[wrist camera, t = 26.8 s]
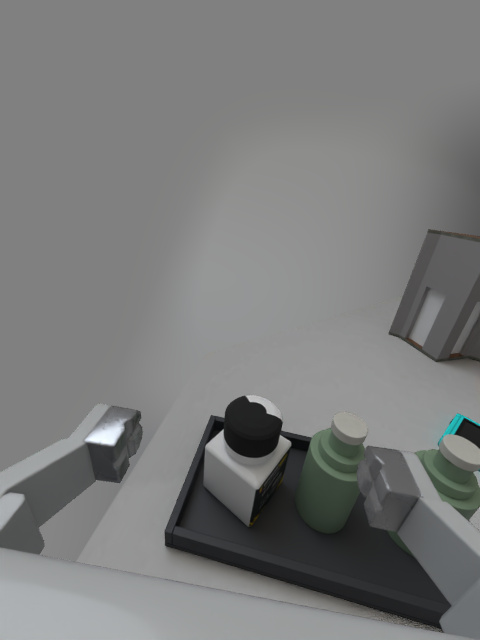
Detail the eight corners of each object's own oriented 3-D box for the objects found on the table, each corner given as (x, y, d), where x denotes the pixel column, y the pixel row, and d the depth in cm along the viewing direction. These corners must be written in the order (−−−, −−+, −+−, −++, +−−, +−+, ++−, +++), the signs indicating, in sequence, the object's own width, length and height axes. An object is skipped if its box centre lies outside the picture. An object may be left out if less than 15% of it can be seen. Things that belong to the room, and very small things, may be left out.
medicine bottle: (249, 530, 29) (264, 454, 24) (201, 486, 33) (205, 411, 27) (283, 481, 34) (301, 409, 29) (238, 447, 38) (247, 379, 32)
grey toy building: (479, 358, 68) (545, 245, 56) (487, 378, 60) (565, 251, 48) (389, 332, 77) (428, 229, 65) (386, 345, 69) (429, 232, 57)
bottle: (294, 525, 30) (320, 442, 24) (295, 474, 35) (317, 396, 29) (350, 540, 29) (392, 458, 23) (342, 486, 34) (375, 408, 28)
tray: (164, 545, 27) (164, 531, 26) (210, 426, 41) (211, 414, 40) (514, 650, 23) (530, 639, 22) (433, 478, 37) (441, 466, 36)
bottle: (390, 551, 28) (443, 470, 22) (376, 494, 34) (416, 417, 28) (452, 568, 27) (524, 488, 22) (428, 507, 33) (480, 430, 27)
